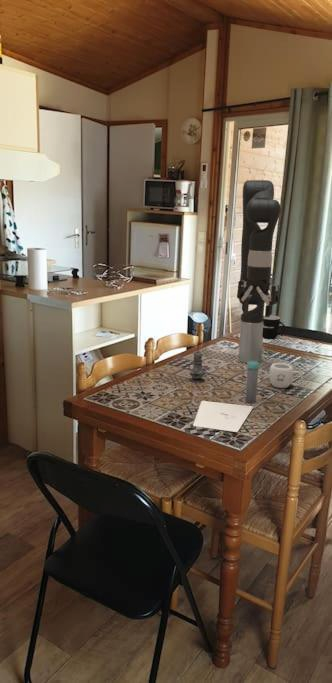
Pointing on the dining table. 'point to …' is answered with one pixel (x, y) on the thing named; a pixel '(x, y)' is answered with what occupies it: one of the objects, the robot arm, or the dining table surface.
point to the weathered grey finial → (197, 368)
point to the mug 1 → (271, 327)
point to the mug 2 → (282, 375)
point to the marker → (251, 381)
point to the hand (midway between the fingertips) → (256, 314)
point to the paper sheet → (221, 416)
